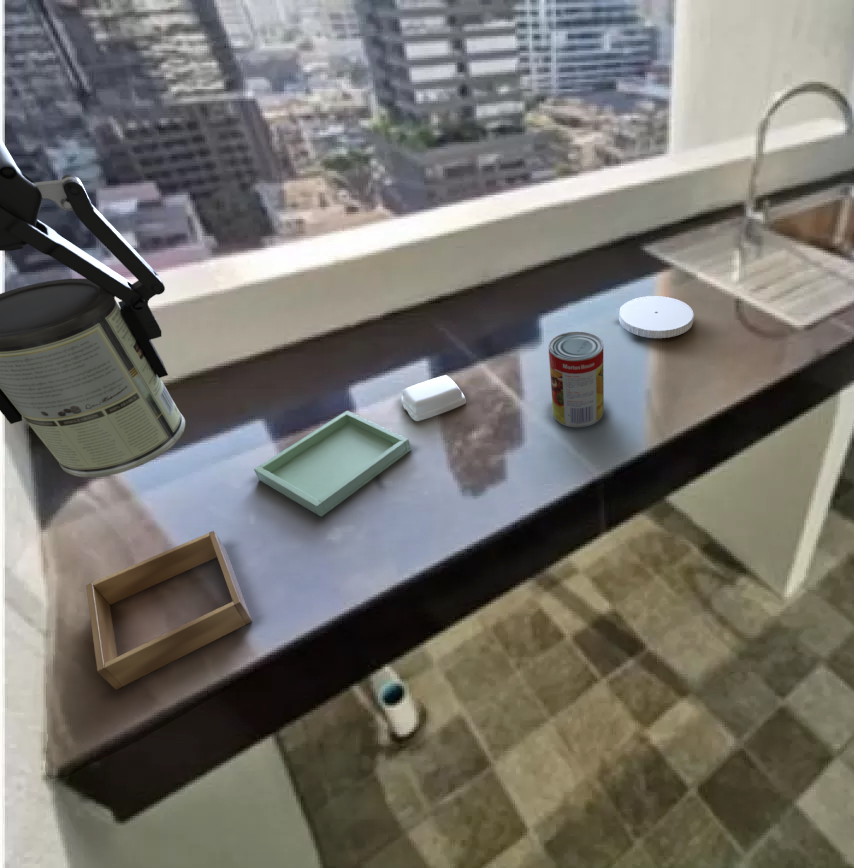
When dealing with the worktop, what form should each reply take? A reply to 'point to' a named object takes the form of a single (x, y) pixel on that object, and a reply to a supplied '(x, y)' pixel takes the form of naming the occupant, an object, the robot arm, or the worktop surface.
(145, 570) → the can stand
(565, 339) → the canned food
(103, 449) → the coffee can
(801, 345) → the worktop surface
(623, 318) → the plastic lid
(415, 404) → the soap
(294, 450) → the tray
